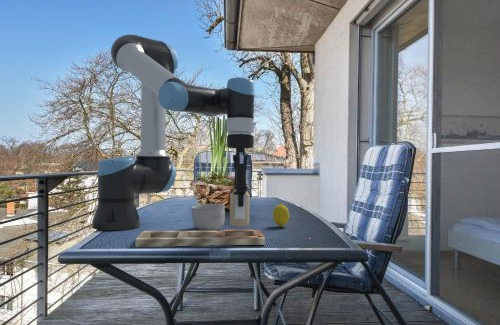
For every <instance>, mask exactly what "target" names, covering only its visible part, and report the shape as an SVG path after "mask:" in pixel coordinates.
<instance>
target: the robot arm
mask: <svg viewBox="0 0 500 325" xmlns="http://www.w3.org/2000/svg"><path fill="white" fill-rule="evenodd" d="M110 57H111V59H112V62H113V63H114V64H115V65H116V66H117V67H118V68H119V69H120V70H121V71H123V72H126V73H130V74H131V75H132V76H134V77H135V78H136V79H137V80H139V81H140V83H141V91H140V92H141V93H140V94H141V95H140V97H141V98H140V99H141V101H140V106H141V107H140V108H141V109H140V150H139V151H138V153H137V154H136V155H135V156H118V157H110V158H104V159H102V160H100V161H99V163H98V169H97V188H98V189H97V207H96V210H95V213H94V214H93V218H92V221H91V223H92V224H91V225H92V226H91V228H92V229H94V230H97V231H98V230H99V231H124V230H125V231H126V230H132V229H137V228H140V226H141V219H140V216H139V212H138V209H137V206H136V201H135V200H136V198H135V197H136V195H141V194H159V193H164V192H165V193H166V192H168V191H169V190H170V189H172V187H173V186H174V183H175V182H176V177H177V168H176V166H175V163H174V162H173V161H171V160H170V154H168V152H166V132H167V131H166V129H167V128H166V127H167V126H166V124H167V123H166V122H167V121H166V120H167V118H166V117H167V110H169V111H172V112H181V113H191V114H192V113H193V114H199V115H200V114H201V115H202V116H205V117H216V116H222V115H224V116H225V115H226V133H228V134H227V136H226V147H227V148H229V149H235V154H232V161H233V170H234V186H233V189H234V190H235V189H236V192H234V193H233V194H234V195H235V219H245V200H246V195H245V193H246V191H247V168H248V156H249V155H248V154H246V149H253V148H254V146H255V142H254V141H255V140H254V139H255V138H254V135H253V133H254V130H255V129H254V128H255V126H256V125H257V123H256V122H254V119H255V116H254V114H255V113H254V112H255V95H256V94H255V85H254V80H252V79H251V78H248V77H239V76H238V77H231V78H229V79H228V80H227V85H226V87H224V88H218V89H214V88H209V87H203V86H202V87H201V86H197V85H192V84H188V83H186V82H185V81H183V80H182V79H180V78H179V77H177V76H176V75H175V73H176V72H177V69H178V65H179V59H178V54H177V51H176V49H175V48H174V47H173V46H172V45H171V44H170V43H167V42H164V41H162V40H158V39H152V38H148V37H145V36H144V37H143V36H139V35H137V34H123V35H122V36H119V37H118V38H116V39H115V41H114V42H113V43H112V46H111V48H110ZM234 190H233V191H234Z"/></svg>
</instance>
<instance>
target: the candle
mask: <svg viewBox="0 0 500 325" xmlns="http://www.w3.org/2000/svg"><path fill="white" fill-rule="evenodd" d="M234 192H236V189H235V190H232V192H230V194H229V226H233V227H247V226H249V225H250V193H249V192H248V191H247V190H246V193H245V195H246V200H245V219H235V195H234V194H233V193H234Z"/></svg>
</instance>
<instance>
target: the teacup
mask: <svg viewBox="0 0 500 325" xmlns="http://www.w3.org/2000/svg"><path fill="white" fill-rule="evenodd" d="M225 209H226V208H225V204H223V203H222V204H220V203H208V204H207V203H206V204H205V203H204V204H197V205H194V206H193V205H192V206H191V216H192V225H193V226H194V227H195V228H196V229H197V231H219V230H221V228H222V227H223V225H224V224H225V220H226V216H225V215H226V214H225V213H226V212H225V211H226V210H225Z"/></svg>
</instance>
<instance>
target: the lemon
mask: <svg viewBox="0 0 500 325" xmlns="http://www.w3.org/2000/svg"><path fill="white" fill-rule="evenodd" d="M272 218H273V222H274V223H275V224H276V225H277V226H278V227H280V228H282V227H283V226H285V225H286V224H288V222H289V220H290V211H289V208H288V207H287V206H286V205H284V204H283V203H279V204H278V205H277V206H275V207H274V209H273V213H272Z"/></svg>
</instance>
